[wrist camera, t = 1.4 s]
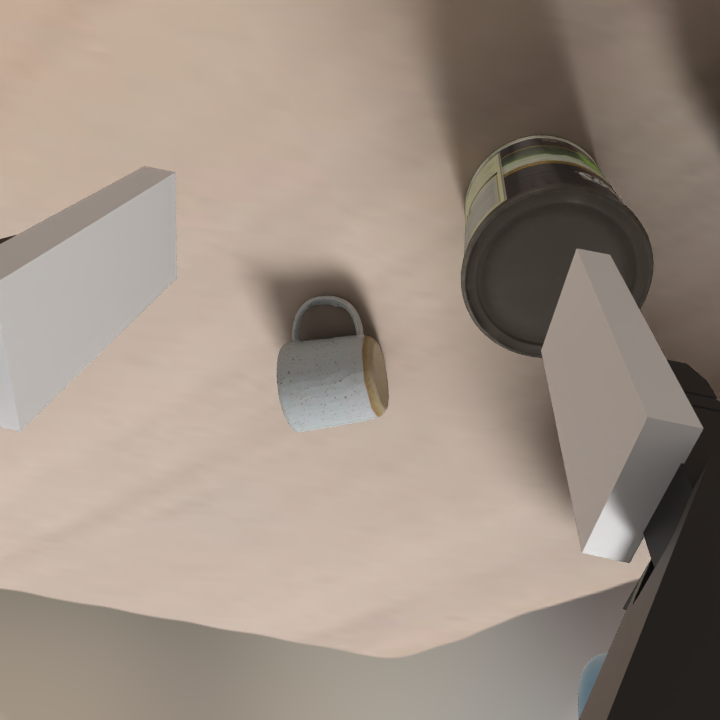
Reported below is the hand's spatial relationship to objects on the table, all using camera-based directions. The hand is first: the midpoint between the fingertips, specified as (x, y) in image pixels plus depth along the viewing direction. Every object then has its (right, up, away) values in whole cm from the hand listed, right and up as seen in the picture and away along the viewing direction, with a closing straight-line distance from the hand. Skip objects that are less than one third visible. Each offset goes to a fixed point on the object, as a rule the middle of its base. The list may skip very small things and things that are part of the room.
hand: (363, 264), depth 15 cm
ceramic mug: (-2, -1, +41) cm, 41 cm away
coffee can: (+13, +9, +32) cm, 36 cm away
